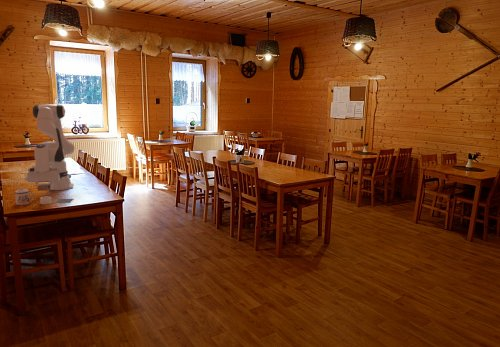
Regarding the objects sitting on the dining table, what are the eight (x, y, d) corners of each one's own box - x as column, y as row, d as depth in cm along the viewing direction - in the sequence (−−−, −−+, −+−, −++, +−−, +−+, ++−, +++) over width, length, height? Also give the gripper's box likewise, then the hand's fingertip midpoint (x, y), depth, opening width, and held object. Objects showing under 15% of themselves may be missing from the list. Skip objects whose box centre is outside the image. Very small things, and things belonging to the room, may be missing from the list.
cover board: (42, 187, 265) (41, 183, 264) (51, 187, 266) (51, 183, 265) (37, 190, 256) (37, 186, 255) (47, 190, 257) (46, 186, 257)
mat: (59, 200, 274) (59, 199, 274) (74, 199, 276) (74, 198, 276) (54, 204, 262) (54, 203, 262) (69, 204, 264) (69, 202, 264)
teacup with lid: (17, 206, 258) (15, 189, 256) (14, 203, 264) (12, 187, 262) (36, 203, 266) (35, 187, 264) (33, 200, 272) (31, 184, 270)
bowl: (42, 203, 266) (42, 196, 265) (52, 202, 267) (52, 196, 266) (39, 205, 259) (38, 198, 258) (49, 205, 261) (49, 198, 260)
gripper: (60, 167, 263) (62, 186, 266) (28, 167, 259) (30, 187, 262) (57, 168, 257) (59, 188, 260) (25, 169, 253) (27, 189, 256)
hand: (44, 187), depth 261 cm, fingers closed on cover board, 6 cm apart
